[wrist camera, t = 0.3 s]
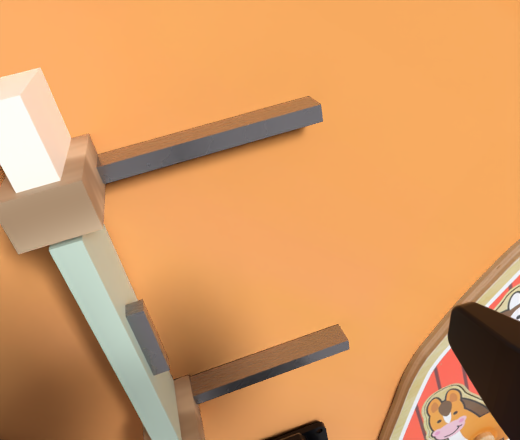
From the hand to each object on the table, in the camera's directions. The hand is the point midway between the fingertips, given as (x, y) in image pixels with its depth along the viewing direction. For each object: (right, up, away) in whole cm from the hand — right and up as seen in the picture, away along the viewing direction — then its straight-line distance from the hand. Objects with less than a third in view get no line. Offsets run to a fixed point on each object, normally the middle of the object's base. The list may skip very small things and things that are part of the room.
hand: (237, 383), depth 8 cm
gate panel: (-7, -1, +16) cm, 17 cm away
